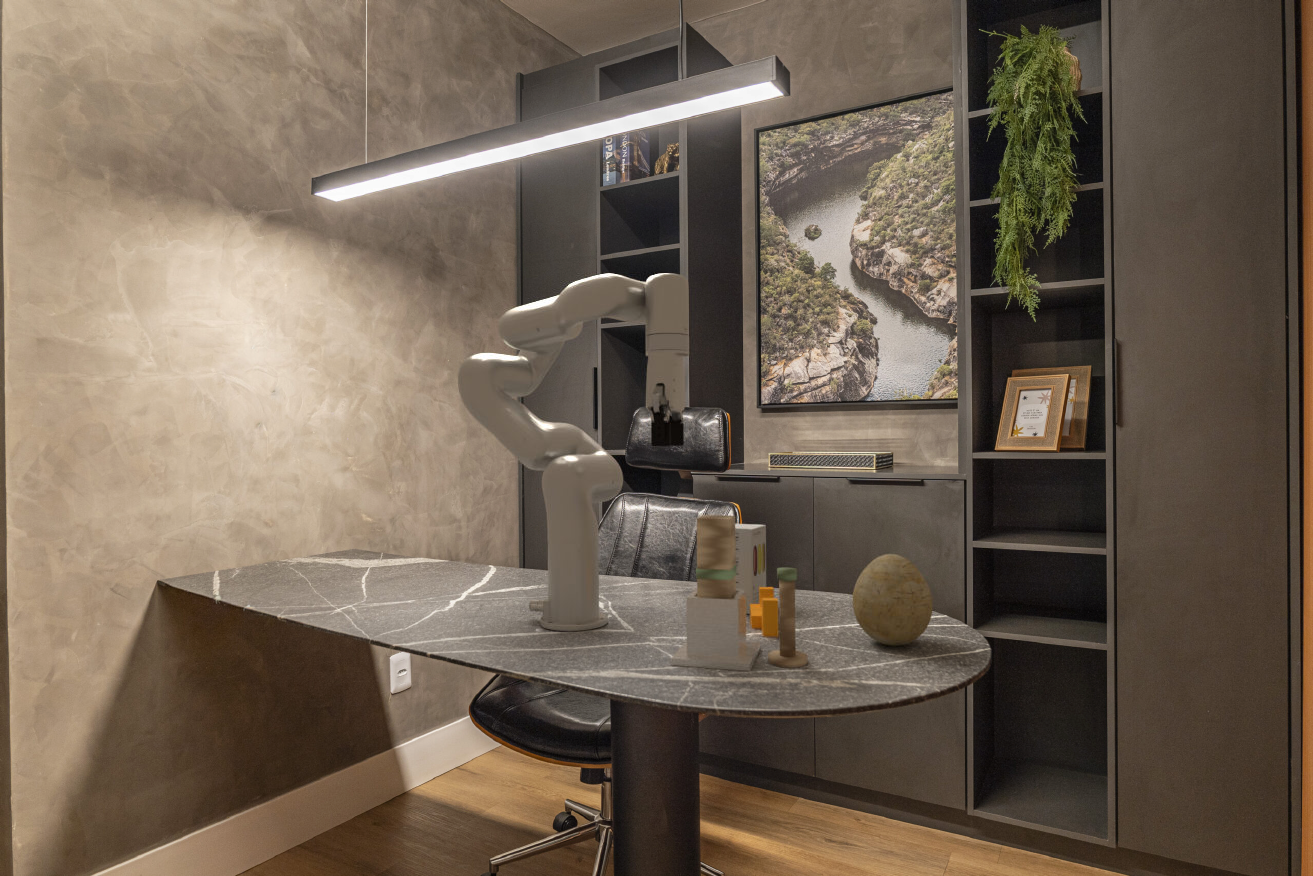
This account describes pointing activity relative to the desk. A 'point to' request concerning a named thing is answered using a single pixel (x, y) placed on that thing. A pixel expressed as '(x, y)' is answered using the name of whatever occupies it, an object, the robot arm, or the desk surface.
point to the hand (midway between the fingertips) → (668, 445)
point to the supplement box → (750, 560)
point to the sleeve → (717, 634)
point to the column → (716, 556)
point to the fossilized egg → (892, 600)
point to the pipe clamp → (765, 613)
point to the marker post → (787, 623)
